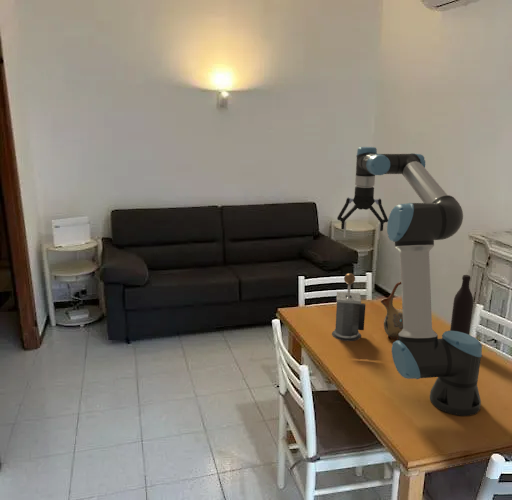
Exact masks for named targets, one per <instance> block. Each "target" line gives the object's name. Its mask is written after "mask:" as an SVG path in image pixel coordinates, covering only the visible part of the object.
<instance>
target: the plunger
mask: <svg viewBox="0 0 512 500" xmlns="http://www.w3.org/2000/svg"><path fill="white" fill-rule="evenodd" d="M343 280H344V282H345V283H346V284H347V292H348V294H347V297H348V298H350V293H351V286H352V284H354V283H355V282H356V277H355V274H353V273H352V272H350V273H349V272H348V273H346V274H345V275H344V278H343Z"/></svg>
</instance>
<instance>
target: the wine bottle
mask: <svg viewBox="0 0 512 500" xmlns="http://www.w3.org/2000/svg"><path fill="white" fill-rule="evenodd" d="M461 280H462V283H461V287H460V288H459V290H458V291H457V292H456V293H455V296H454V299H453V303H452V304H453V305H452V313H451V321H450V327H449V328H450V330H449V331H458V332H462V333H466V334H468V335H470V333H471V332H470V330H471V323H472V315H473V310H474V309H473V307H474V297H473V294H472V292H471V289H470V281H471V276H470V275H469V274H463V275H462V278H461Z"/></svg>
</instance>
